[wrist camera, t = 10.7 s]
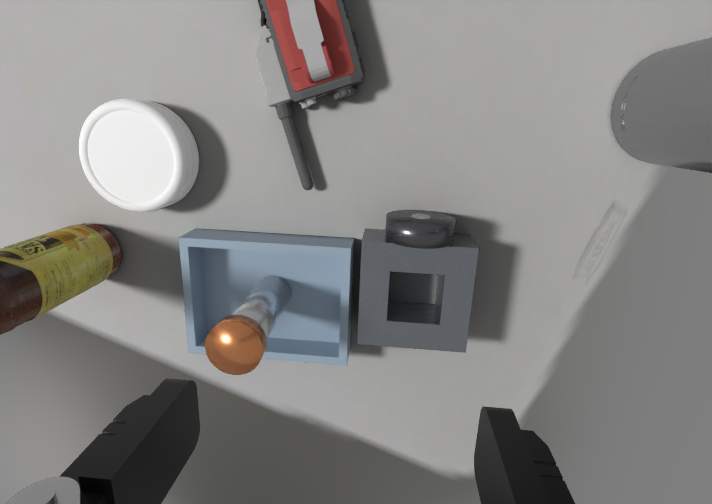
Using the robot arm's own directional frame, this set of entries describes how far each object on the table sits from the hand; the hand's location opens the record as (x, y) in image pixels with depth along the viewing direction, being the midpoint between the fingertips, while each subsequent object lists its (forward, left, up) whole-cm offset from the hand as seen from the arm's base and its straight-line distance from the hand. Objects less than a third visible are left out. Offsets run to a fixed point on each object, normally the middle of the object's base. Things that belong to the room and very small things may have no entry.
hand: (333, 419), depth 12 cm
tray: (+10, +9, -30) cm, 33 cm away
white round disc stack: (+22, -4, -30) cm, 38 cm away
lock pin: (+10, +9, -30) cm, 32 cm away
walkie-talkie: (+6, -12, -31) cm, 34 cm away
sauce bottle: (+29, +6, -30) cm, 42 cm away
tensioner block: (-4, +6, -30) cm, 31 cm away
